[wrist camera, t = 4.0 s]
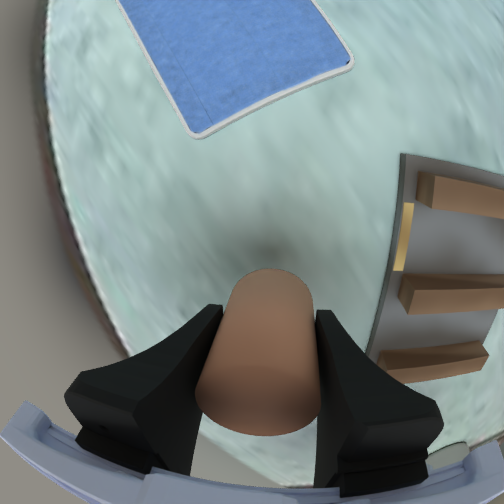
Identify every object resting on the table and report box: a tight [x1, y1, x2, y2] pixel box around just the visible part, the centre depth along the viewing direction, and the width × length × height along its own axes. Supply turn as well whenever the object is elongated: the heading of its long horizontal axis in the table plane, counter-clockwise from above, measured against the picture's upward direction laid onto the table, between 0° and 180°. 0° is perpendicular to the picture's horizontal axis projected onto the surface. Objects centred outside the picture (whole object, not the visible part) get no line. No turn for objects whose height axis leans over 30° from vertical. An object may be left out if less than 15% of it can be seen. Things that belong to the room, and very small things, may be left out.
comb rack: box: [365, 154, 504, 384], centre depth 17 cm, size 19×14×4 cm
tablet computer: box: [115, 0, 355, 139], centre depth 13 cm, size 19×13×1 cm, turn 27°
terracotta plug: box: [195, 269, 321, 436], centre depth 10 cm, size 4×4×6 cm
